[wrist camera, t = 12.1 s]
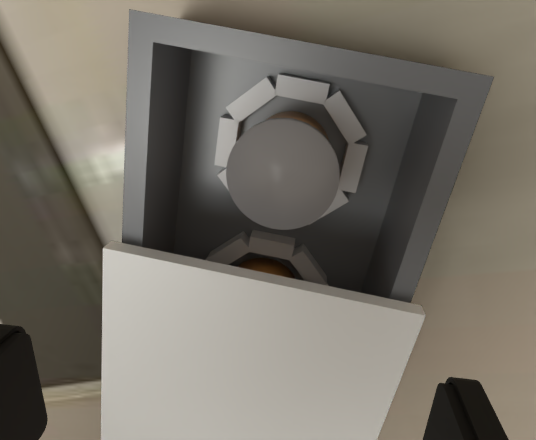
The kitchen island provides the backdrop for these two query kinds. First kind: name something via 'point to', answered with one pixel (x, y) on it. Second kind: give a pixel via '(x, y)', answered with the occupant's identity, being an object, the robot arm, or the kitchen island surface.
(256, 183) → the jar
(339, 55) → the housing
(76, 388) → the kitchen island surface
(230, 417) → the lid
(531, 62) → the kitchen island surface
